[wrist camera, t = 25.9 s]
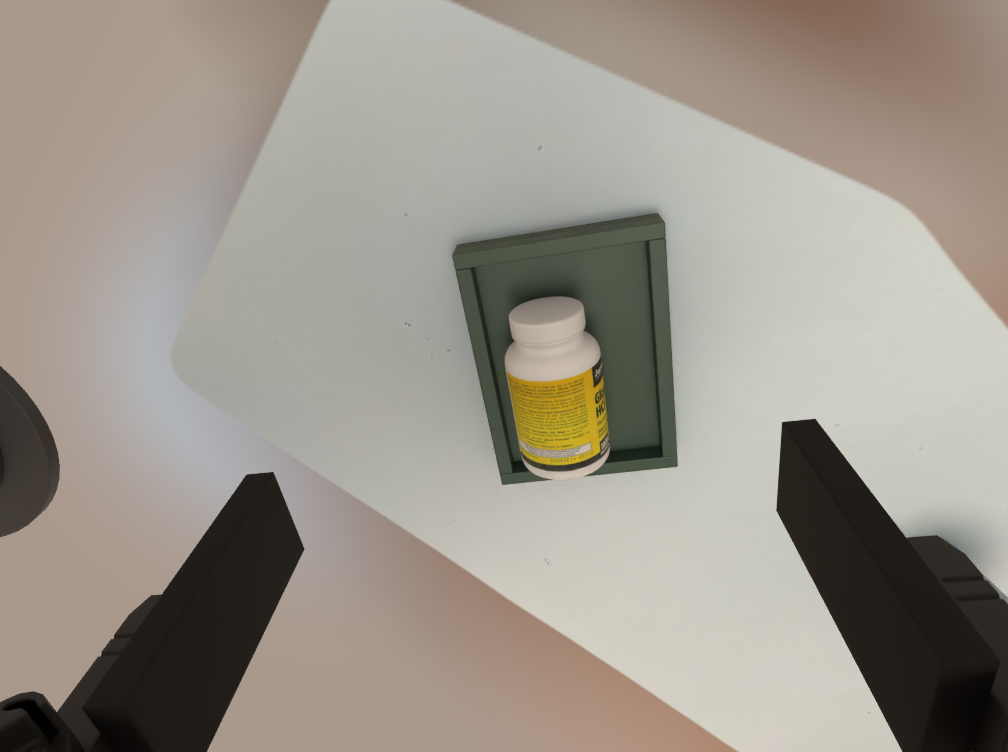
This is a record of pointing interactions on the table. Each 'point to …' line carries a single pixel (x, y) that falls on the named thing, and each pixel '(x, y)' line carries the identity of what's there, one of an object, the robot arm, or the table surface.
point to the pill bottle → (557, 389)
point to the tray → (609, 319)
